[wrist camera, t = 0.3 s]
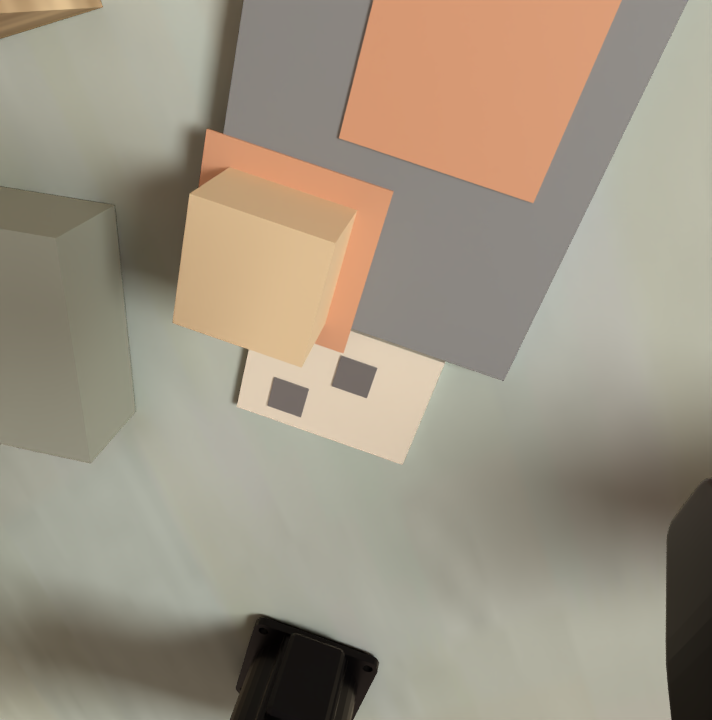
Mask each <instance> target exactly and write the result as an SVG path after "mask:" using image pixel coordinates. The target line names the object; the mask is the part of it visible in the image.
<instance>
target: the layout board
mask: <svg viewBox="0 0 712 720" xmlns="http://www.w3.org/2000/svg"><path fill="white" fill-rule="evenodd" d="M687 2H688V0H244V2H243V8H242V15H241V21H240V28H239V34H238V41H237V47H236V54H235V60H234V67H233V73H232V80H231V86H230V93H229V99H228V106H227V112H226V119H225V126H224V132H223V133H220V132H217V131H214V130H211V129H207V130H206V137H205V144H204V151H203V159H202V166H201V173H200V180H199V187H198V188H197V189H196V190H194V191H193V192H191V193H190V194H189V202H188V209H187V217H186V224H185V232H184V239H183V247H182V255H181V262H180V270H179V277H178V285H177V292H176V300H175V307H174V315H173V323H174V324H177V325H180V326H183V327H186V328H189V329H192V330H194V331H197V332H200V333H203V334H206V335H209V336H212V337H215V338H217V339H220V340H223V341H226V342H229V343H232V344H235V345H238V346H240V347H243V348H246V349H249V350H252V351H255V352H258V353H261V354H264V355H266V356H269V357H272V358H275V359H278V360H281V361H284V362H287V363H289V364H292V365H295V366H298V367H301V368H302V366H303V364H304V362H305V361H306V359H307V357H308V355H309V353H310V351H311V349H312V347H313V346H314V344H317V345H320V346H323V347H326V348H329V349H332V350H334V351H337V352H340V353H344V350H345V347H346V344H347V341H348V337H349V334H350V331H351V329H354V330H357V331H360V332H363V333H366V334H369V335H371V336H374V337H377V338H380V339H383V340H386V341H389V342H392V343H395V344H398V345H401V346H403V347H406V348H409V349H412V350H415V351H418V352H421V353H424V354H427V355H430V356H432V357H435V358H438V359H441V360H444V361H447V362H450V363H453V364H456V365H459V366H462V367H464V368H467V369H470V370H473V371H476V372H479V373H482V374H485V375H488V376H491V377H493V378H496V379H499V380H502V381H504V379H505V377H506V375H507V373H508V371H509V369H510V367H511V365H512V363H513V361H514V358H515V356H516V354H517V352H518V350H519V348H520V346H521V344H522V342H523V340H524V338H525V336H526V334H527V332H528V330H529V328H530V325H531V323H532V321H533V319H534V317H535V315H536V313H537V311H538V309H539V307H540V305H541V303H542V301H543V299H544V297H545V295H546V293H547V290H548V288H549V286H550V284H551V282H552V280H553V278H554V276H555V274H556V272H557V270H558V268H559V266H560V264H561V262H562V260H563V257H564V255H565V253H566V251H567V249H568V247H569V245H570V243H571V241H572V239H573V237H574V235H575V233H576V231H577V229H578V227H579V224H580V222H581V220H582V218H583V216H584V214H585V212H586V210H587V208H588V206H589V204H590V202H591V200H592V198H593V196H594V194H595V191H596V189H597V187H598V185H599V183H600V181H601V179H602V177H603V175H604V173H605V171H606V169H607V167H608V165H609V163H610V161H611V158H612V156H613V154H614V152H615V150H616V148H617V146H618V144H619V142H620V140H621V138H622V136H623V134H624V132H625V130H626V128H627V125H628V123H629V121H630V119H631V117H632V115H633V113H634V111H635V109H636V107H637V105H638V103H639V101H640V99H641V97H642V95H643V92H644V90H645V88H646V86H647V84H648V82H649V80H650V78H651V76H652V74H653V72H654V70H655V68H656V66H657V64H658V62H659V59H660V57H661V55H662V53H663V51H664V49H665V47H666V45H667V43H668V41H669V39H670V37H671V35H672V33H673V31H674V29H675V26H676V24H677V22H678V20H679V18H680V16H681V14H682V12H683V10H684V8H685V6H686V4H687Z"/></svg>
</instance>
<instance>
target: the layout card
mask: <svg viewBox="0 0 712 720" xmlns="http://www.w3.org/2000/svg"><path fill="white" fill-rule="evenodd" d="M444 364H445V361H444V360H441V359H438V358H435V357H432V356H430V355H427V354H424V353H421V352H418V351H415V350H412V349H409V348H406V347H403V346H401V345H398V344H395V343H392V342H389V341H386V340H383V339H380V338H377V337H374V336H371V335H369V334H366V333H363V332H360V331H357V330H354V329H351V331H350V334H349V337H348V341H347V344H346V347H345V350H344V353H340V352H337V351H334V350H332V349H329V348H326V347H323V346H320V345H317V344H314V346H313V347H312V349H311V351H310V353H309V355H308V357H307V359H306V361H305V362H304V364H303V366H302V368H301V367H298V366H295V365H292V364H289V363H287V362H284V361H281V360H278V359H275V358H272V357H269V356H266V355H264V354H261V353H258V352H255V351H252V350H249V351H248V356H247V361H246V365H245V370H244V375H243V379H242V384H241V389H240V393H239V398H238V403H237V407H239V408H242V409H245V410H248V411H251V412H253V413H256V414H259V415H262V416H265V417H268V418H271V419H273V420H276V421H279V422H282V423H285V424H288V425H291V426H293V427H296V428H299V429H302V430H305V431H308V432H310V433H313V434H316V435H319V436H322V437H325V438H328V439H330V440H333V441H336V442H339V443H342V444H345V445H348V446H350V447H353V448H356V449H359V450H362V451H365V452H368V453H370V454H373V455H376V456H379V457H382V458H385V459H388V460H390V461H393V462H396V463H399V464H402V465H403V462H404V460H405V458H406V455H407V453H408V450H409V448H410V446H411V443H412V441H413V438H414V436H415V434H416V431H417V429H418V426H419V424H420V422H421V419H422V417H423V414H424V412H425V410H426V407H427V405H428V402H429V400H430V398H431V395H432V393H433V390H434V388H435V386H436V383H437V381H438V378H439V376H440V374H441V371H442V369H443V366H444Z"/></svg>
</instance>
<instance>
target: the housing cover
mask: <svg viewBox="0 0 712 720" xmlns="http://www.w3.org/2000/svg"><path fill="white" fill-rule="evenodd" d="M135 412H136V409H135V399H134V389H133V379H132V370H131V360H130V350H129V340H128V331H127V321H126V311H125V301H124V292H123V282H122V272H121V262H120V252H119V243H118V233H117V223H116V213H115V205H111V204H105V203H99V202H93V201H86V200H80V199H74V198H68V197H62V196H56V195H50V194H44V193H38V192H32V191H25V190H19V189H13V188H7V187H1V186H0V444H4V445H8V446H13V447H17V448H22V449H26V450H31V451H36V452H40V453H45V454H49V455H54V456H59V457H63V458H68V459H72V460H77V461H82V462H86V463H92V462H93V460H94V459H95V458H96V457H97V456H98V455H99V453H100V452H101V451H102V450H103V449H104V448H105V447H106V445H107V444H108V443H109V442H110V441H111V440H112V439H113V437H114V436H115V435H116V434H117V433H118V432H119V430H120V429H121V428H122V427H123V426H124V425H125V424H126V422H127V421H128V420H129V419H130V418H131V417H132V415H133V414H134V413H135Z"/></svg>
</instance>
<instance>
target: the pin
mask: <svg viewBox="0 0 712 720" xmlns="http://www.w3.org/2000/svg"><path fill="white" fill-rule="evenodd" d="M102 7H103V6H102V3H101V0H0V39H1V38H5V37H8V36H11V35H14V34H18V33H21V32H24V31H27V30H31V29H34V28H37V27H40V26H44V25H47V24H50V23H53V22H56V21H60V20H63V19H66V18H69V17H73V16H76V15H79V14H82V13H86V12H89V11H92V10H95V9H98V8H102Z"/></svg>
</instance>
